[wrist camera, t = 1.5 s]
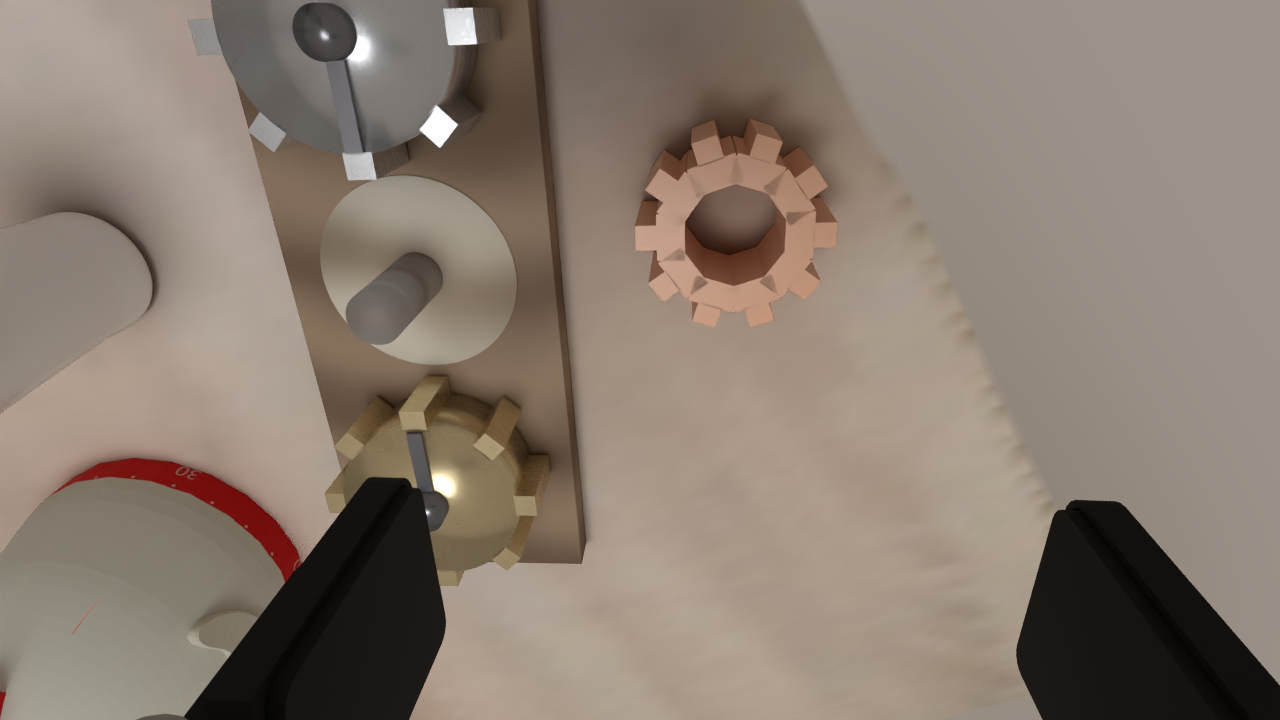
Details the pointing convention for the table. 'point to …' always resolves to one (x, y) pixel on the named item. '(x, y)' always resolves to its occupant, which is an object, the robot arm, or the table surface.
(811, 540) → the table surface
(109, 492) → the kitchen timer
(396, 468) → the gear
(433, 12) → the gear
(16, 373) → the drinking glass
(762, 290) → the idler gear
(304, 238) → the gear board
